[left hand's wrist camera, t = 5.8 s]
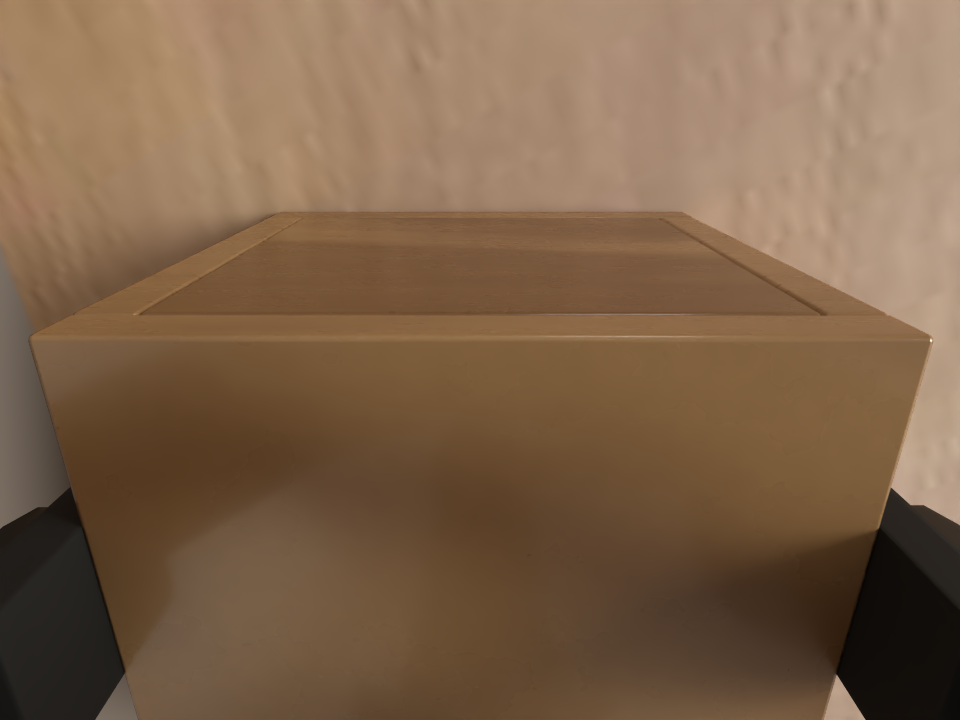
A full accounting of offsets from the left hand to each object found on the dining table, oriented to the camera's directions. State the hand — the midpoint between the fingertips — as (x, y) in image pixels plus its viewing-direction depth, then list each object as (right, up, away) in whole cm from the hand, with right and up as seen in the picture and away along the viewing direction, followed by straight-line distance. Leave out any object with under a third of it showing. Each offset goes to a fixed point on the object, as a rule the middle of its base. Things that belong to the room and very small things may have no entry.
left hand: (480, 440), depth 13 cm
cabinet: (0, -3, +7) cm, 8 cm away
